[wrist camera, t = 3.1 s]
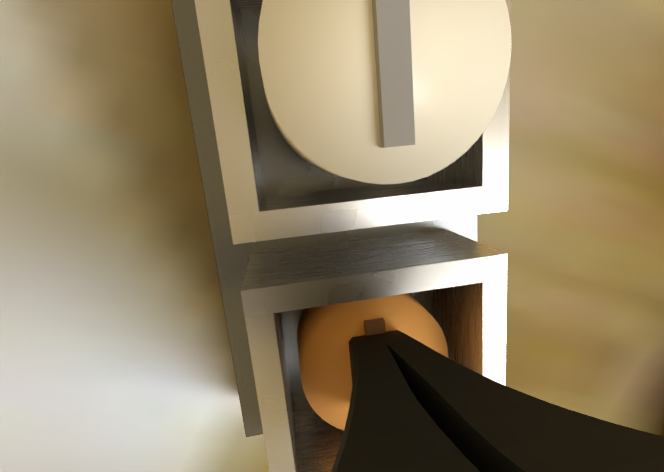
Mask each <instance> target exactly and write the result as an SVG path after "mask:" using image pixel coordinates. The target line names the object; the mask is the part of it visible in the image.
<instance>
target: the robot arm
mask: <svg viewBox="0 0 664 472" xmlns="http://www.w3.org/2000/svg"><path fill="white" fill-rule="evenodd" d="M349 353H350V364H351V375H352V392H351V399H350V405H349V411H348V416H347V420H346V425H345V429H344V432H343V436H342V440H341V443H340V446H339V450H338V453H337V456H336V459H335V462H334V465H333V468H332V471H331V472H664V436H660V435H655V434H651V433H647V432H643V431H639V430H636V429H632V428H628V427H625V426H621V425H617V424H614V423H610V422H607V421H604V420H600V419H597V418H594V417H591V416H587V415H584V414H581V413H578V412H575V411H571V410H568V409H565V408H562V407H559V406H557V405H554V404H551V403H548V402H545V401H543V400H540V399H537V398H535V397H532V396H530V395H527V394H525V393H522V392H519V391H517V390H514V389H512V388H510V387H507V386H505V385H503V384H500V383H498V382H496V381H494V380H491V379H489V378H487V377H485V376H483V375H481V374H479V373H477V372H475V371H472V370H470V369H468V368H467V367H465V366H463V365H461V364H459V363H457V362H455V361H453V360H451V359H449V358H447V357H446V356H444V355H442V354H440V353H438V352H437V351H435V350H433V349H431V348H429V347H428V346H426V345H424V344H422V343H421V342H419V341H417V340H415V339H414V338H412V337H410V336H408V335H407V334H405V333H403V332H401V331H399V330H394V331H388V332H386V333H382V334H376V335H369V336H366V335H363V336H357V337H352V338H351V339H350V341H349Z"/></svg>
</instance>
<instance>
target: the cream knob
mask: <svg viewBox="0 0 664 472" xmlns="http://www.w3.org/2000/svg"><path fill="white" fill-rule="evenodd" d="M258 52H259V63H260V68H261V74H262V79H263V85H264V90H265V95H266V101H267V104H268V107H269V110H270V113H271V116H272V118H273V120H274V122H275V125H276V127H277V128H278V130H279V132H280V133H281V135H282V136H283V138H284V139H285V140H286V142H287V143H288V144H289V145H290V147H291V148H292V149H293V150H294V151H295V152H296V153H297V154H298V155H299V156H301V157H302V158H303V159H304V160H306V161H307V162H309V163H310V164H311V165H313V166H315V167H317V168H319V169H320V170H322V171H325V172H328V173H330V174H333V175H337V176H341V177H345V178H349V179H353V180H357V181H361V182H365V183H373V184H400V183H405V182H411V181H415V180H418V179H421V178H424V177H427V176H430V175H432V174H434V173H436V172H438V171H440V170H442V169H444V168H445V167H447V166H448V165H450V164H451V163H453V162H455V161H456V160H457V159H458V158H459V157H461V156H462V155H463V154H464V153H465V152H467V151H468V149H469V148H470V147H471V146H472V145H473V144H474V143H475V142H476V141H477V140H478V139H479V137H480V136H481V134H482V133H483V132H484V130H485V129H486V128H487V126H488V124H489V123H490V121H491V119H492V117H493V116H494V114H495V112H496V110H497V107H498V105H499V103H500V100H501V98H502V95H503V92H504V89H505V85H506V82H507V78H508V72H509V67H510V59H511V26H510V20H509V13H508V8H507V4H506V1H505V0H263V2H262V7H261V13H260V18H259V29H258Z"/></svg>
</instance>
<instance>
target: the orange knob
mask: <svg viewBox="0 0 664 472" xmlns="http://www.w3.org/2000/svg"><path fill="white" fill-rule="evenodd" d="M394 330H399V331H401V332H403V333H405V334H407V335H408V336H410V337H412V338H414V339H415V340H417V341H419V342H421V343H422V344H424V345H426V346H428V347H429V348H431V349H433V350H435V351H437V352H438V353H440V354H442V355H444V356H446V357H447V358H448V347H447V342H446V338H445V336H444V333H443V331H442V329H441V327H440V326H439V324H438V323H437V321H436V320H435V319H434V318H433V316H432V315H431V314H430V313H429V312H428V311H427V310H426V309H425V308H424V307H423V306H422V305H421V304H420V303H419V302H418V301H417V300H416V299H415V298H414V297H413V296H412V295H411V294H410V293H407V294H400V295H393V296H386V297H380V298H373V299H366V300H360V301H353V302H346V303H339V304H333V305H326V306H319V307H312V308H306V309H304V310H303V312H302V314H301V317H300V319H299V323H298V329H297V344H298V354H299V363H300V372H301V381H302V386H303V390H304V393H305V396H306V398H307V400H308V402H309V404H310V406H311V407H312V408H313V410H314V411H315V412H316V413H317V414H318V415H319V416H320V417H321V418H322V419H323V420H324V421H326V422H327V423H329V424H330V425H332V426H334V427H336V428H338V429H341V430H344V429H345V425H346V420H347V416H348V411H349V405H350V399H351V392H352V375H351V364H350V353H349V341H350V339H351V338H352V337H357V336H363V335H366V336H369V335H376V334H382V333H386V332H388V331H394Z"/></svg>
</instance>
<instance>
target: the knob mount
mask: <svg viewBox="0 0 664 472" xmlns="http://www.w3.org/2000/svg"><path fill="white" fill-rule="evenodd" d="M505 1H506V4H507V8H508V13H509V20H510V26H511V0H505ZM171 2H172V8H173V14H174V20H175V26H176V32H177V37H178V43H179V49H180V55H181V61H182V66H183V72H184V78H185V84H186V90H187V96H188V101H189V107H190V113H191V119H192V125H193V131H194V136H195V142H196V148H197V154H198V160H199V166H200V171H201V177H202V183H203V189H204V195H205V200H206V206H207V212H208V218H209V224H210V230H211V235H212V241H213V247H214V253H215V259H216V265H217V270H218V276H219V282H220V288H221V294H222V300H223V305H224V311H225V317H226V323H227V329H228V334H229V340H230V346H231V352H232V358H233V364H234V369H235V375H236V381H237V387H238V393H239V399H240V404H241V410H242V416H243V422H244V428H245V434H246V437H249V436H255V435H260V434H263V435H264V441H265V448H266V454H267V460H268V467H269V472H331V471H332V468H333V465H334V462H335V459H336V456H337V453H338V450H339V446H340V443H341V440H342V436H343V432H344V430H341V429H338V428H336V427H334V426H332V425H330V424H329V423H327V422H326V421H324V420H323V419H322V418H321V417H320V416H319V415H318V414H317V413H316V412H315V411H314V410H313V408H312V407H311V406H310V404H309V402H308V400H307V398H306V396H305V393H304V390H303V386H302V381H301V372H300V363H299V354H298V344H297V329H298V323H299V319H300V317H301V314H302V312H303V310H304V309H306V308H312V307H319V306H326V305H333V304H339V303H346V302H353V301H360V300H366V299H373V298H380V297H386V296H393V295H400V294H407V293H410V294H411V295H412V296H413V297H414V298H415V299H416V300H417V301H418V302H419V303H420V304H421V305H422V306H423V307H424V308H425V309H426V310H427V311H428V312H429V313H430V314H431V315H432V316H433V318H434V319H435V320H436V321H437V323H438V324H439V326H440V327H441V329H442V331H443V333H444V336H445V338H446V342H447V347H448V358H449V359H451V360H453V361H455V362H457V363H459V364H461V365H463V366H465V367H467V368H468V369H470V370H472V371H475V372H477V373H479V374H481V375H483V376H485V377H487V378H489V379H491V380H494V381H496V382H498V383H500V384H503V385H505V375H506V307H507V253H504V252H502V251H499V250H497V249H494V248H492V247H489V246H487V245H484V244H482V243H479V242H477V214H485V213H493V212H501V211H508V170H509V101H510V67H509V72H508V78H507V82H506V85H505V89H504V92H503V95H502V98H501V100H500V103H499V105H498V107H497V110H496V112H495V114H494V116H493V117H492V119H491V121H490V123H489V124H488V126H487V128H486V129H485V130H484V132H483V133H482V134H481V136H480V137H479V139H478V140H477V141H476V142H475V143H474V144H473V145H472V146H471V147H470V148H469V149H468V151H467V152H465V153H464V154H463V155H462V156H461V157H459V158H458V159H457V160H456V161H455V162H453V163H451V164H450V165H448V166H447V167H445V168H444V169H442V170H440V171H438V172H436V173H434V174H432V175H430V176H427V177H424V178H421V179H418V180H415V181H411V182H405V183H400V184H373V183H365V182H361V181H357V180H353V179H349V178H345V177H341V176H337V175H333V174H330V173H328V172H325V171H322V170H320V169H319V168H317V167H315V166H313V165H311V164H310V163H309V162H307V161H306V160H304V159H303V158H302V157H301V156H299V155H298V154H297V153H296V152H295V151H294V150H293V149H292V148H291V147H290V145H289V144H288V143H287V142H286V140H285V139H284V138H283V136H282V135H281V133H280V132H279V130H278V128H277V127H276V125H275V122H274V120H273V118H272V116H271V113H270V110H269V107H268V104H267V101H266V95H265V90H264V85H263V79H262V74H261V68H260V63H259V52H258V29H259V18H260V13H261V7H262V2H263V0H171Z"/></svg>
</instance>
